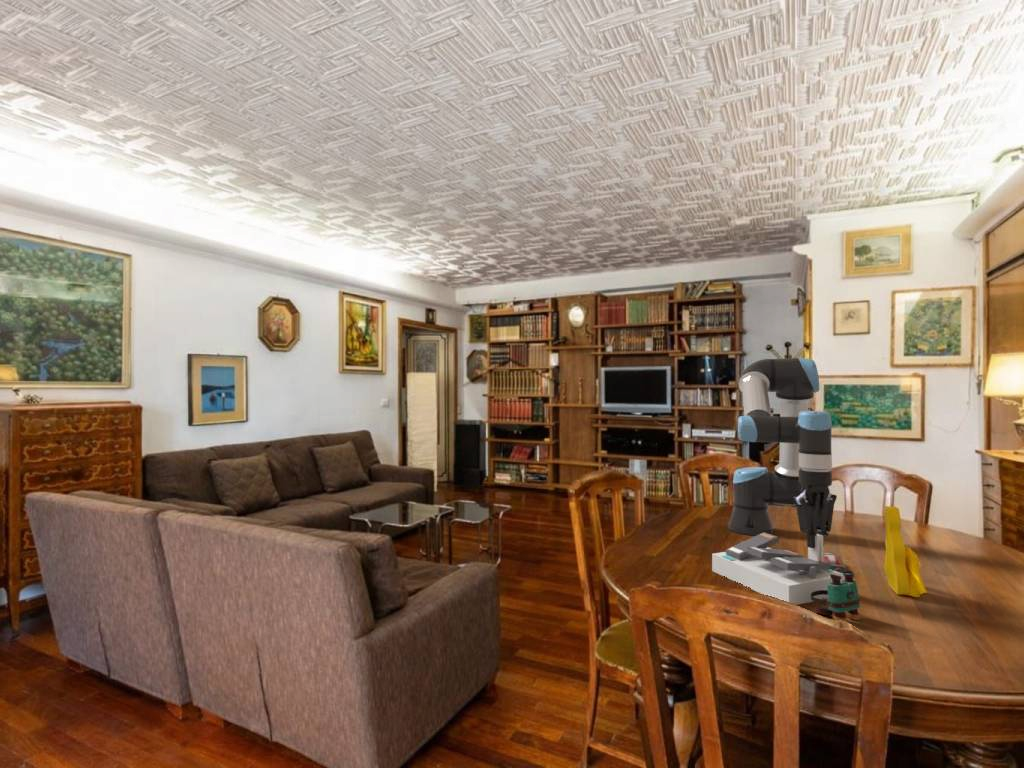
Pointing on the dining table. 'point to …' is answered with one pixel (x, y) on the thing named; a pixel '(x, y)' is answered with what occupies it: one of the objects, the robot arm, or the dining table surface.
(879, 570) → the dining table surface
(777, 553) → the switch
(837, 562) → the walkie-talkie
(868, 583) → the dining table surface
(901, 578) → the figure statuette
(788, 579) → the console
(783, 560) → the switch
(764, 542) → the switch
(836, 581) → the binoculars
